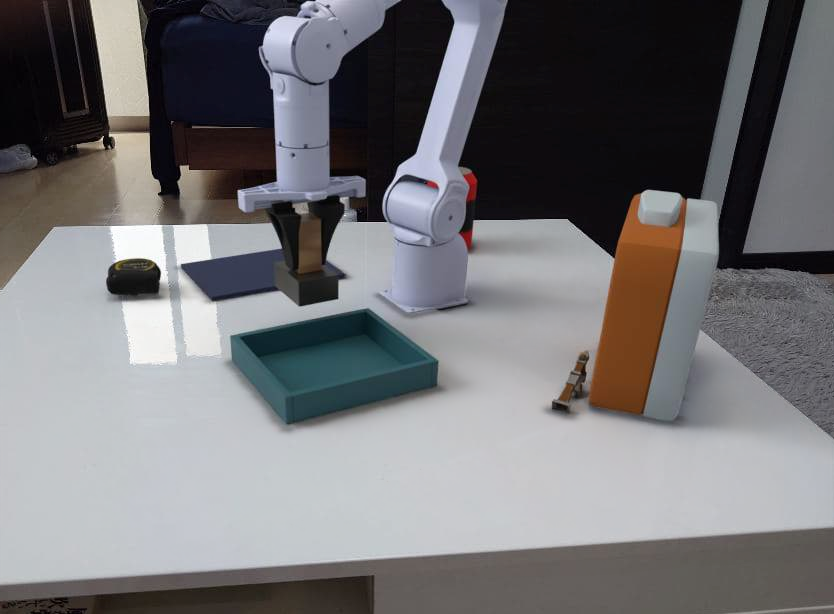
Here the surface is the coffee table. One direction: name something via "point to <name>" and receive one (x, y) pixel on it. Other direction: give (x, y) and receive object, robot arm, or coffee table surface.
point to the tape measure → (133, 277)
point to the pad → (239, 274)
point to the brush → (307, 268)
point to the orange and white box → (655, 304)
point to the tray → (331, 364)
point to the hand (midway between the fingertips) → (305, 265)
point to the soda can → (467, 205)
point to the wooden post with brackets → (573, 383)
